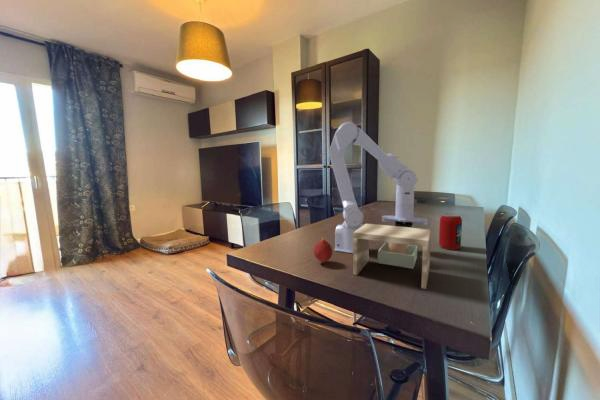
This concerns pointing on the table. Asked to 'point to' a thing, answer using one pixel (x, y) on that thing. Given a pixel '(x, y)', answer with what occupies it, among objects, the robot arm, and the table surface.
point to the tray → (397, 257)
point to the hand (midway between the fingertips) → (403, 243)
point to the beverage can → (450, 231)
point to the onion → (323, 251)
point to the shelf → (395, 236)
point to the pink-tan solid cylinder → (398, 248)
